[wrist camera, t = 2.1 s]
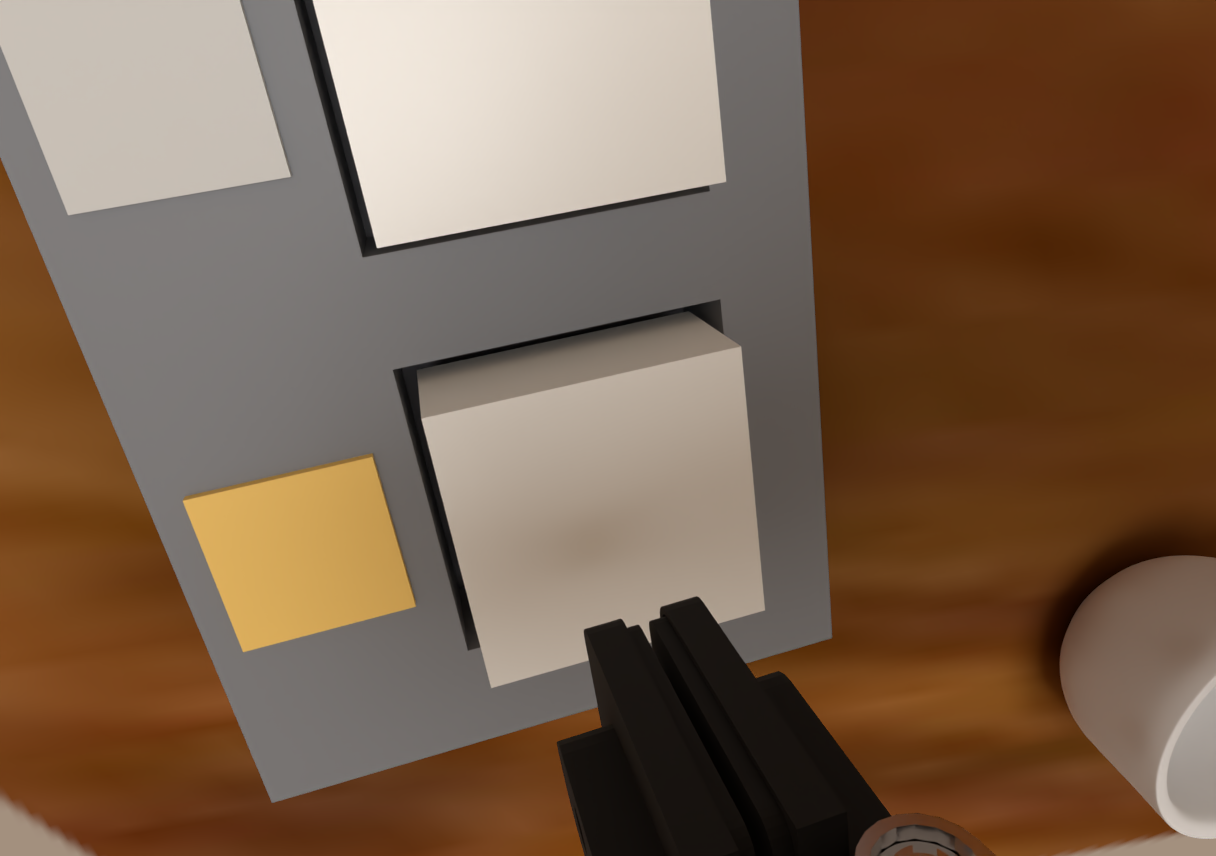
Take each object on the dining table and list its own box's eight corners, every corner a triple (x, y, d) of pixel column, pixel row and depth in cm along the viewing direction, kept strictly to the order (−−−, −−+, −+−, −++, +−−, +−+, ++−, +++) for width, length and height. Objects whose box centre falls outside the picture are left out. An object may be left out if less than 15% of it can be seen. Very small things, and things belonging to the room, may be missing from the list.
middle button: (632, -178, 15) (687, -245, 12) (672, 171, 17) (726, 181, 14) (286, -140, 14) (259, -202, 11) (379, 224, 16) (376, 248, 13)
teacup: (1089, 750, 30) (1225, 874, 25) (979, 653, 27) (1109, 773, 22) (1296, 553, 29) (1480, 642, 24) (1206, 428, 26) (1396, 501, 21)
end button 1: (688, 311, 18) (741, 346, 15) (715, 543, 20) (765, 610, 18) (416, 369, 17) (421, 418, 14) (477, 607, 19) (491, 688, 17)
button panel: (646, -1123, 12) (726, -1513, 9) (781, 578, 24) (835, 642, 21) (-466, -1222, 10) (-825, -1777, 7) (287, 715, 21) (271, 809, 19)
